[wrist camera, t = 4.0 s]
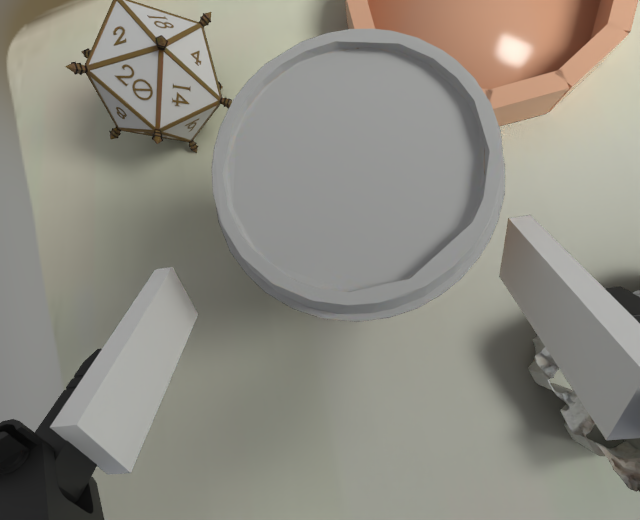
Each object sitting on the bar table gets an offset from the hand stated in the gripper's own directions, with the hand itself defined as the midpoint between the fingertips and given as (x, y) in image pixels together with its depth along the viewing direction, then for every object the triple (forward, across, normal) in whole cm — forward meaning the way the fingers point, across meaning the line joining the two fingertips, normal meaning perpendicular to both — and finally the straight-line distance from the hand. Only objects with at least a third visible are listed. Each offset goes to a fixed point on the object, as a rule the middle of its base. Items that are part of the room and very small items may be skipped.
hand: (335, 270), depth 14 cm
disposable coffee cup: (+8, +1, -4) cm, 9 cm away
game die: (+16, -10, +4) cm, 19 cm away
